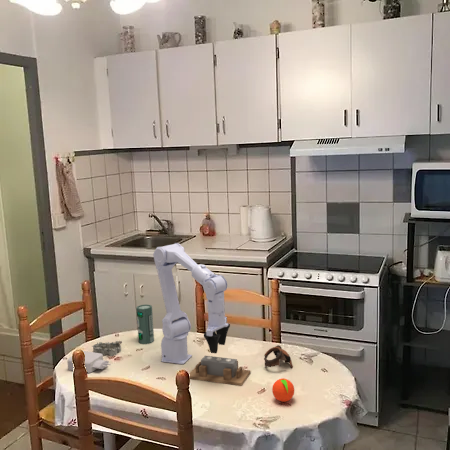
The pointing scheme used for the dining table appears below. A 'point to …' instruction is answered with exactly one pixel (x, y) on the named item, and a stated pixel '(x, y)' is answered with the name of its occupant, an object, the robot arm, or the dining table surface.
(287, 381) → the clementine
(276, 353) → the brown open ring
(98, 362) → the charger
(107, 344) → the egg carton
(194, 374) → the rack
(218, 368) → the power strip
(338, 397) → the dining table surface
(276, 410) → the dining table surface
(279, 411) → the dining table surface
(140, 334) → the can
